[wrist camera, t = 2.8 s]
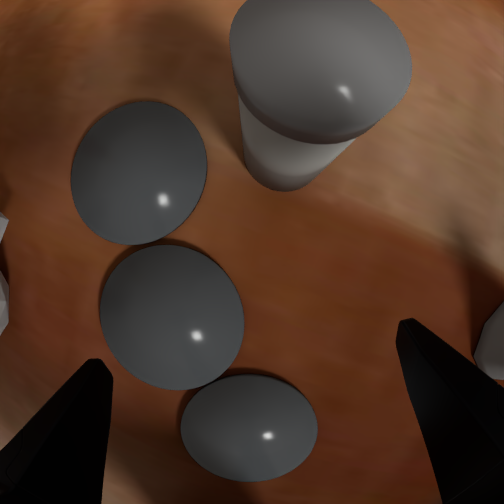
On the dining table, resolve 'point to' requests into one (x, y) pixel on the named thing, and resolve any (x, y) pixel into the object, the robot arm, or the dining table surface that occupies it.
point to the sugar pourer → (312, 82)
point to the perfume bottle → (3, 284)
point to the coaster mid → (172, 317)
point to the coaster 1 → (139, 173)
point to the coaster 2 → (249, 427)
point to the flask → (492, 346)
